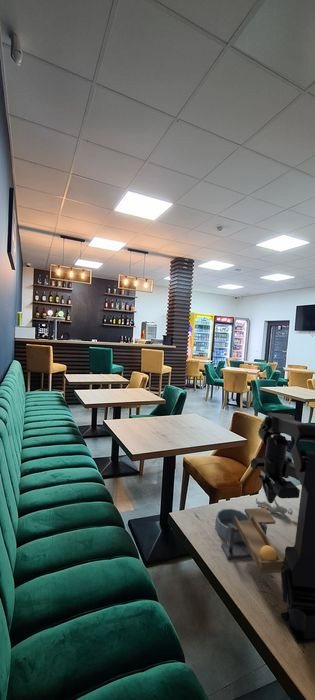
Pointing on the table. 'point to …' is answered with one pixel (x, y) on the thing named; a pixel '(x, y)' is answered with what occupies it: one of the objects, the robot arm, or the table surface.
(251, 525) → the lever
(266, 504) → the soldier figure
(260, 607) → the table surface
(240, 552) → the lever stand
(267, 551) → the ball
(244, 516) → the cup
